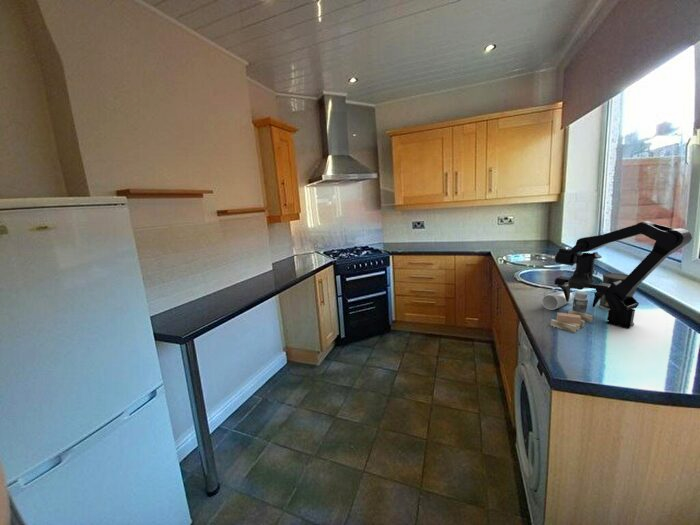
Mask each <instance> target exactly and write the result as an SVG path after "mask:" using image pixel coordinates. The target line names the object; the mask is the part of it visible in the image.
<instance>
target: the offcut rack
mask: <svg viewBox="0 0 700 525" xmlns="http://www.w3.org/2000/svg"><path fill="white" fill-rule="evenodd" d="M567 314H575V315H580V317H581V324H580V328H581V327H582V328H581V329H583V327H584V328H585V322H588V321H589V323H593V322H594V315H593V314H588V313H586V314H585V313H581V312H576V311H572V310H571V309H569V310H568V313H567ZM552 326H553V327H552ZM550 327H552V328H555V327H557V328H556V329H559V328H560V329H559V330H562V329H564V330H563V331H566V330H567V331H566V332H569V331H570V333H573V332H574V333H573V334H576V333H577V331H576V328H577V326H575V325H572V324H568V323H564V322H561V321H557V319H553V318H552V319H550ZM575 332H576V333H575Z"/></svg>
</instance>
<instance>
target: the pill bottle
mask: <svg viewBox="0 0 700 525" xmlns="http://www.w3.org/2000/svg"><path fill="white" fill-rule="evenodd" d="M572 302H573V303H572V308H571V309H572V311H576V312H581V313H585V314H587V309H588V302H589V298H588V293H587V292H584V291H575V296H573V300H572Z"/></svg>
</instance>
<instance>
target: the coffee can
mask: <svg viewBox="0 0 700 525" xmlns="http://www.w3.org/2000/svg"><path fill="white" fill-rule="evenodd" d="M628 275H629V274H623V273H615V272H614V273H612V272H610V273H609V272H608V273H607V272H605V273H603V274H602V282H601V283H606V284H612V283H614V282H617V281H620V280H621V281H623V280H624V279H625V278H626V277H627V276H628ZM598 307H600V308H601V309H602V310H603V309H604V310H605V311H609V310H610V309H609V305H608V302H607V301H606V299H605V296H604V295H603V296H602V297H601V298H600V300H599V304H598Z"/></svg>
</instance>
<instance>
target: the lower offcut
mask: <svg viewBox="0 0 700 525" xmlns="http://www.w3.org/2000/svg"><path fill="white" fill-rule="evenodd" d="M564 323H565V322H564ZM568 324H572V325H575V326H577V328H576V330H577V331H576V332H579V330H580V329H581V327H580V324H573V323H568Z"/></svg>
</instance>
